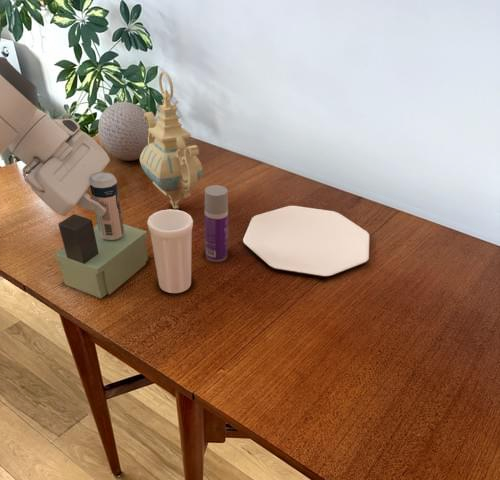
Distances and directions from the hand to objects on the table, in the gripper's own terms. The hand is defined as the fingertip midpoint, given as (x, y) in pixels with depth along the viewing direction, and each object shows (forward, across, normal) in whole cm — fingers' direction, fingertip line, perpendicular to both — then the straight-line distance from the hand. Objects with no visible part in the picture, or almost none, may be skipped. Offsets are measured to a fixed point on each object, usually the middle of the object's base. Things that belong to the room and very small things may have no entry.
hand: (110, 204), depth 86 cm
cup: (+18, -5, +1) cm, 19 cm away
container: (+23, +7, -4) cm, 24 cm away
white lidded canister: (+4, 0, +5) cm, 7 cm away
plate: (+37, +15, -17) cm, 43 cm away
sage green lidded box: (+8, -3, +11) cm, 14 cm away
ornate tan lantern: (+14, +26, +6) cm, 29 cm away
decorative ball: (0, +52, +19) cm, 55 cm away
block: (+2, -8, +7) cm, 11 cm away
